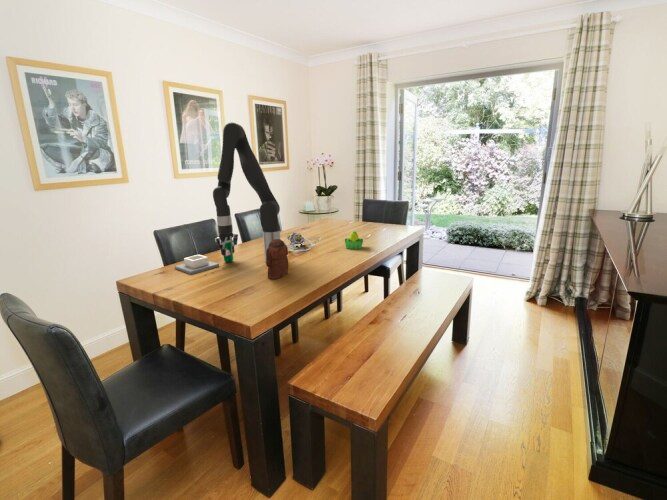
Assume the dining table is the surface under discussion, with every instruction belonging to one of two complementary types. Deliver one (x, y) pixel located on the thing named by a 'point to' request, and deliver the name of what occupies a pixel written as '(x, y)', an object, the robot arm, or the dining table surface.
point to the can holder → (196, 264)
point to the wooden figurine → (277, 259)
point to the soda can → (228, 251)
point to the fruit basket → (353, 241)
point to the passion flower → (296, 238)
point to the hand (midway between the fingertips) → (228, 254)
